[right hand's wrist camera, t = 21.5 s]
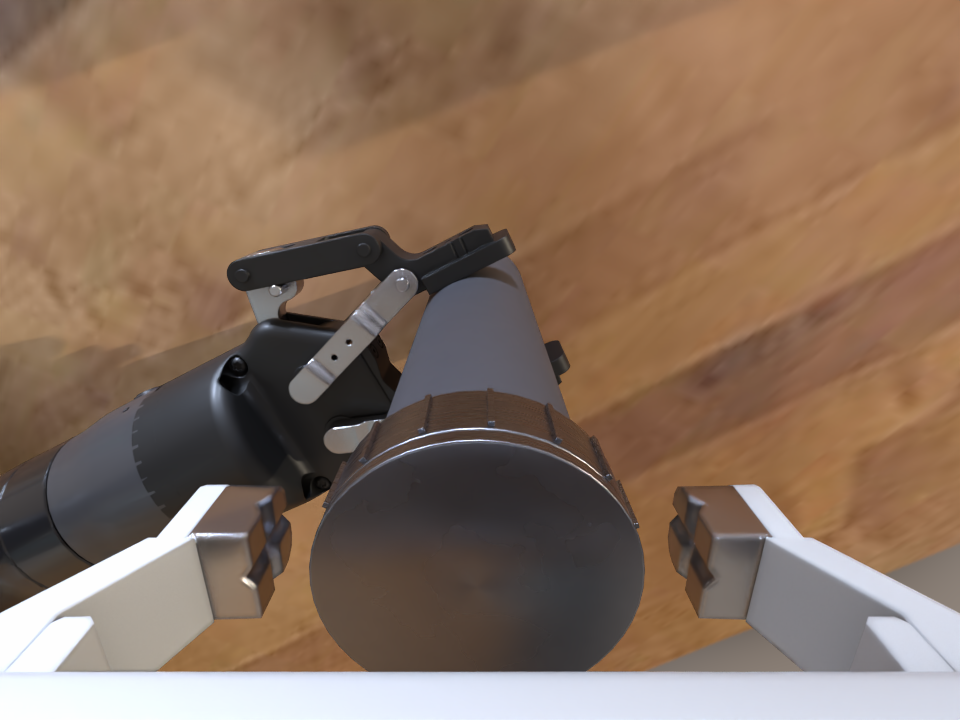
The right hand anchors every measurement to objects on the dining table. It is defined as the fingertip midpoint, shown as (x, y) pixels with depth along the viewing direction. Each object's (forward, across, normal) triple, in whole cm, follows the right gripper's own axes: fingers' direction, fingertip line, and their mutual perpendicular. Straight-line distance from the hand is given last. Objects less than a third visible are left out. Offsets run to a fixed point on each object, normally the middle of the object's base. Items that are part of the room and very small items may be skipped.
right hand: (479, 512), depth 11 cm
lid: (-2, 0, 0) cm, 2 cm away
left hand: (+12, -2, -1) cm, 12 cm away
